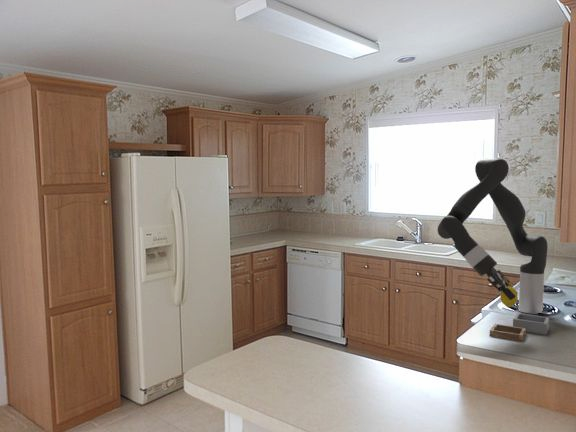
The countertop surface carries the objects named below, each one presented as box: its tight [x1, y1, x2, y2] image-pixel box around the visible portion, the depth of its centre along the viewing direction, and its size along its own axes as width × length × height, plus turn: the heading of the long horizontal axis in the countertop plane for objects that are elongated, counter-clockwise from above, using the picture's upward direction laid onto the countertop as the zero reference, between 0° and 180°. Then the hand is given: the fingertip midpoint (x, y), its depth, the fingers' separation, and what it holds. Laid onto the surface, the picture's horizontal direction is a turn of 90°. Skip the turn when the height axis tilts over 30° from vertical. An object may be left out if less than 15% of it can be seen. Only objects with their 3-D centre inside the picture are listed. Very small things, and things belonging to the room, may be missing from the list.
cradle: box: [489, 323, 527, 342], centre depth 164 cm, size 10×10×2 cm
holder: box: [512, 312, 550, 336], centre depth 172 cm, size 11×11×4 cm
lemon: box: [499, 285, 519, 309], centre depth 164 cm, size 6×6×8 cm
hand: (514, 296), depth 163 cm, fingers closed on lemon, 5 cm apart
